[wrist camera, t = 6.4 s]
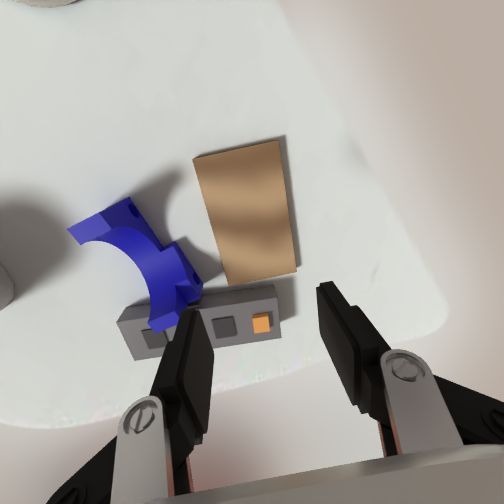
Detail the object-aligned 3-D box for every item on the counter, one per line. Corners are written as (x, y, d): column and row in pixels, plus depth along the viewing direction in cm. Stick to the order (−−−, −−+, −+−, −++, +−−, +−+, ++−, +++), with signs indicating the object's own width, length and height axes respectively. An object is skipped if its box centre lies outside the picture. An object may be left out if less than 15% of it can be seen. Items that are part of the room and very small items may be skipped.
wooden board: (193, 158, 22) (192, 159, 22) (277, 140, 22) (278, 140, 22) (228, 282, 28) (228, 286, 28) (295, 268, 28) (296, 271, 27)
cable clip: (203, 282, 28) (196, 316, 23) (170, 297, 29) (156, 333, 23) (142, 190, 23) (115, 204, 18) (104, 209, 24) (66, 228, 19)
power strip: (143, 341, 32) (132, 364, 28) (126, 303, 29) (112, 323, 26) (277, 321, 32) (282, 341, 29) (272, 281, 29) (277, 298, 26)
